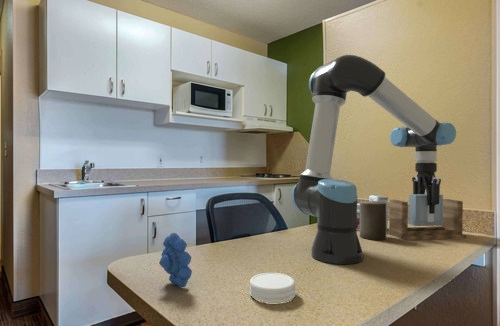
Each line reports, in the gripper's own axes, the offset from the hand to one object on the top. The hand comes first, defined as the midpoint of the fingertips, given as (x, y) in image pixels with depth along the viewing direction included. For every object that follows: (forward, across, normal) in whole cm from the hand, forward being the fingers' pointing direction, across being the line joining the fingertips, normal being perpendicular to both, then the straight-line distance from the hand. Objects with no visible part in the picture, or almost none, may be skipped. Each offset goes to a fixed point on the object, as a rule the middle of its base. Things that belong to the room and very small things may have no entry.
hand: (425, 220), depth 127 cm
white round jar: (+6, -46, +74) cm, 87 cm away
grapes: (+6, -38, +96) cm, 103 cm away
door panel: (+2, 0, 0) cm, 2 cm away
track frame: (+6, 0, 0) cm, 6 cm away
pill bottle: (+6, +14, +21) cm, 26 cm away
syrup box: (+6, +14, +12) cm, 20 cm away
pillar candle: (+6, 0, +23) cm, 24 cm away
